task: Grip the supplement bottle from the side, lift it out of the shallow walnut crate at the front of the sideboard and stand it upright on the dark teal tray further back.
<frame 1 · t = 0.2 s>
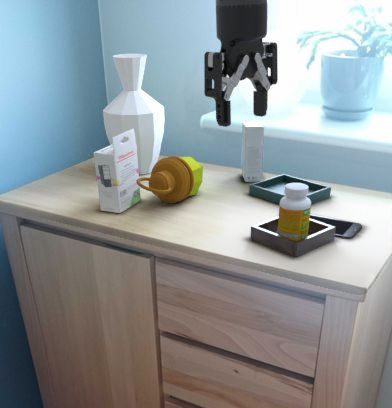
hand: (242, 120, 89), 20 cm above the table, tool pointing down, fingers open, 8 cm apart
ink box: (120, 206, 116), on the table
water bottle: (176, 200, 119), on the table
smartphone: (318, 228, 106), on the table
crate: (292, 239, 100), on the table
tray: (289, 195, 120), on the table
cosmetic box: (251, 179, 130), on the table
vase: (138, 170, 137), on the table
supplement bottle: (292, 240, 100), resting in crate
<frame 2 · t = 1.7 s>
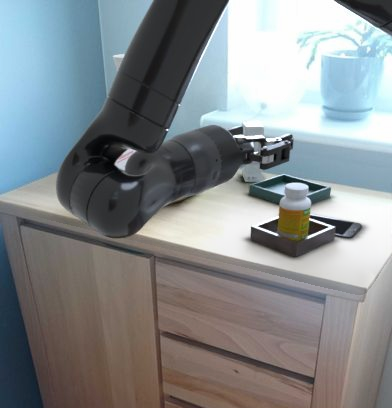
hand: (264, 137, 82), 20 cm above the table, tool horizontal, fingers open, 8 cm apart
nothing on the table moved.
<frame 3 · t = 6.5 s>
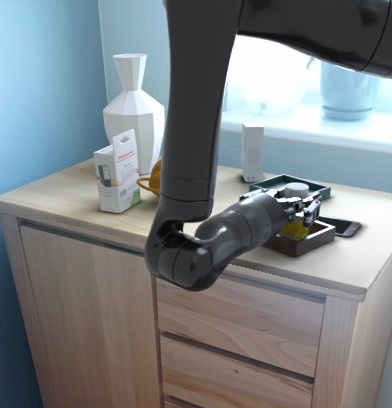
hand: (302, 194, 98), 8 cm above the table, tool horizontal, fingers closed on supplement bottle, 5 cm apart
supplement bottle: (292, 240, 100), resting in crate, touching gripper
everything else where it was.
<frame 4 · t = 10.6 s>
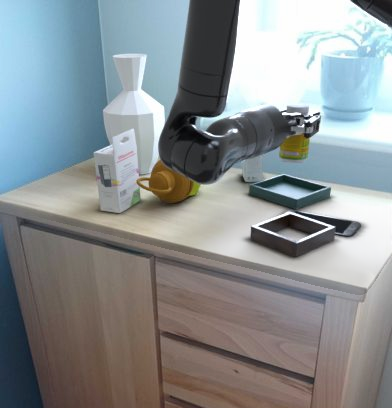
hand: (303, 115, 104), 18 cm above the table, tool horizontal, fingers closed on supplement bottle, 5 cm apart
supplement bottle: (293, 161, 106), point 10 cm above the table, touching gripper
everything else where it was.
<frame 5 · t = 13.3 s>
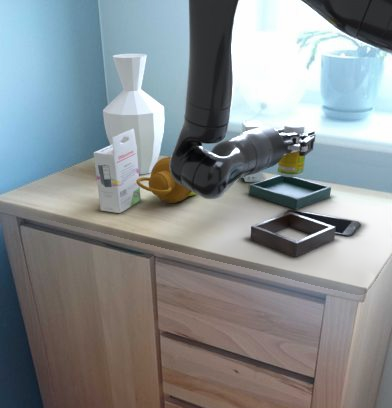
hand: (299, 134, 115), 12 cm above the table, tool horizontal, fingers closed on supplement bottle, 5 cm apart
supplement bottle: (290, 174, 117), point 4 cm above the table, touching gripper
everything else where it was.
when the fingers open (8 cm above the table, at t = 15.0 s): supplement bottle stays where it is, resting on tray.
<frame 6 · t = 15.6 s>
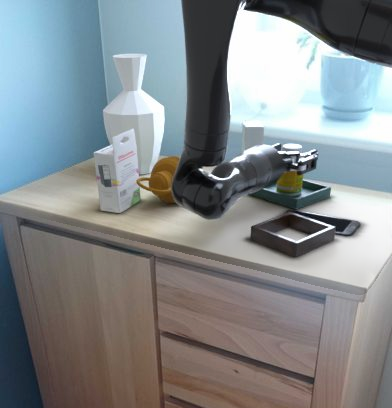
hand: (297, 151, 116), 9 cm above the table, tool horizontal, fingers open, 8 cm apart
supplement bottle: (288, 193, 120), resting on tray
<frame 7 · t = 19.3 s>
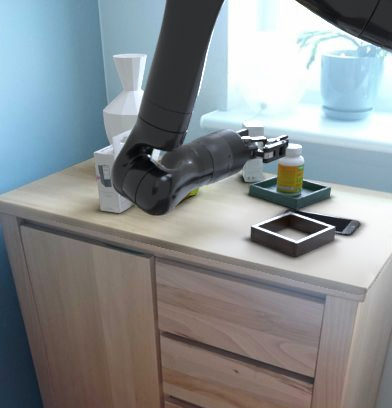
hand: (266, 137, 103), 15 cm above the table, tool horizontal, fingers open, 8 cm apart
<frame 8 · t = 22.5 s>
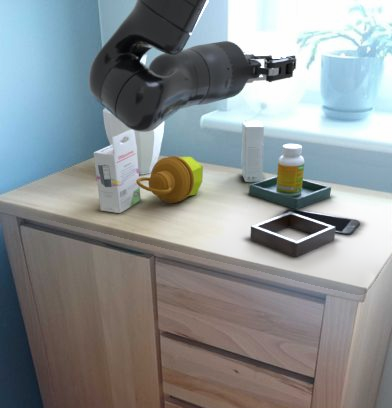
hand: (270, 60, 90), 28 cm above the table, tool horizontal, fingers open, 8 cm apart
at the end: supplement bottle inside the target area in the tray (0.2 cm from its centre), point 0.4 cm above the tray's base; supplement bottle tilted 0°; the gripper is holding nothing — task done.
